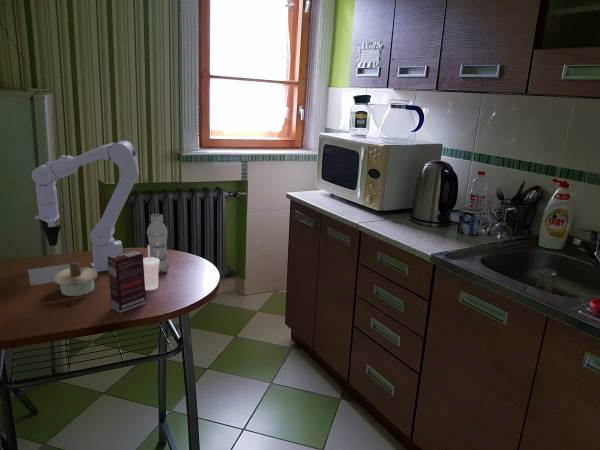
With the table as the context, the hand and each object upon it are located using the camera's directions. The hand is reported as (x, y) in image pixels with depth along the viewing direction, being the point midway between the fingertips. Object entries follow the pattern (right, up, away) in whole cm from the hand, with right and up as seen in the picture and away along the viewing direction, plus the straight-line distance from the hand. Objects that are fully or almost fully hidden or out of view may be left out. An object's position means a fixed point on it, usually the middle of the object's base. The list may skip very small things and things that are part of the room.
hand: (52, 241), depth 156 cm
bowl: (+15, -14, -13) cm, 24 cm away
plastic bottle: (+34, -11, +4) cm, 36 cm away
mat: (+2, -11, -3) cm, 11 cm away
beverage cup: (+35, -14, -8) cm, 39 cm away
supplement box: (+33, -18, -21) cm, 43 cm away
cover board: (+15, -10, -14) cm, 23 cm away
